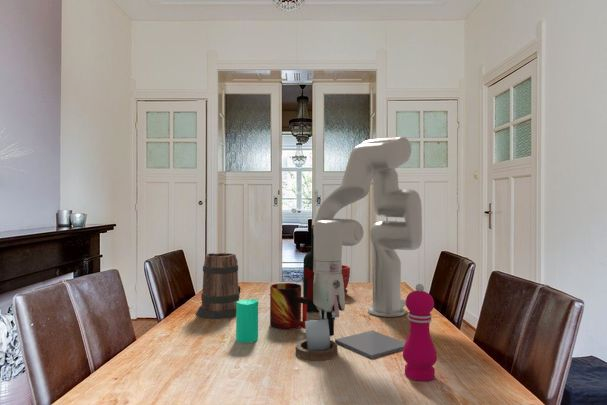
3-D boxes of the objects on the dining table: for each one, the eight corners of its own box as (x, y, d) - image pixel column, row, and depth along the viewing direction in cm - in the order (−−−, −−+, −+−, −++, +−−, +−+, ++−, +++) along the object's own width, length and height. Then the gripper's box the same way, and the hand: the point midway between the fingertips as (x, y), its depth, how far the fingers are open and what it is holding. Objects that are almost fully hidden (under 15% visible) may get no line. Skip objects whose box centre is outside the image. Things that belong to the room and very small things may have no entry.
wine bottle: (297, 312, 139) (298, 225, 139) (306, 305, 149) (306, 224, 149) (319, 314, 137) (320, 226, 137) (327, 307, 146) (327, 224, 147)
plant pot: (351, 298, 161) (351, 268, 161) (318, 298, 161) (318, 268, 162) (348, 291, 174) (348, 263, 174) (317, 291, 175) (317, 263, 175)
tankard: (233, 321, 129) (233, 258, 129) (185, 317, 133) (185, 256, 133) (258, 303, 152) (258, 250, 152) (217, 300, 156) (217, 248, 156)
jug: (331, 349, 100) (328, 319, 101) (307, 351, 100) (304, 322, 101) (330, 344, 109) (327, 317, 111) (308, 346, 109) (305, 319, 111)
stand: (325, 343, 109) (325, 336, 109) (345, 356, 99) (345, 349, 99) (289, 348, 105) (289, 341, 105) (306, 363, 95) (306, 355, 95)
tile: (372, 333, 118) (372, 330, 118) (410, 347, 106) (410, 344, 106) (335, 342, 110) (335, 339, 110) (371, 358, 98) (371, 355, 98)
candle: (261, 336, 114) (261, 294, 114) (252, 343, 108) (252, 298, 108) (242, 334, 116) (242, 292, 116) (232, 341, 110) (232, 297, 110)
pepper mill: (398, 369, 92) (398, 281, 92) (429, 368, 93) (429, 280, 93) (409, 383, 85) (409, 287, 85) (442, 382, 85) (442, 287, 85)
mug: (305, 333, 117) (306, 291, 117) (264, 327, 123) (264, 287, 123) (318, 324, 126) (318, 285, 126) (279, 318, 132) (279, 282, 132)
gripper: (354, 269, 103) (354, 342, 103) (326, 262, 117) (326, 325, 117) (328, 271, 100) (328, 346, 100) (303, 263, 113) (302, 329, 113)
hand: (327, 335), depth 108 cm, fingers closed
